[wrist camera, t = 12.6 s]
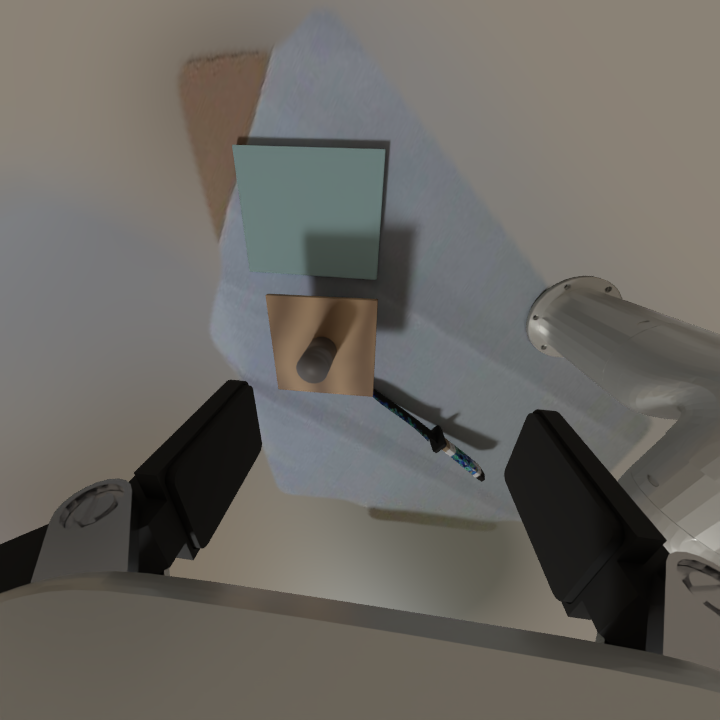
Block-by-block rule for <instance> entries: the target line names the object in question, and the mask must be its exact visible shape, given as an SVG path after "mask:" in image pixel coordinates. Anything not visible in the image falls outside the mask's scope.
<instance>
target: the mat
mask: <svg viewBox="0 0 720 720" xmlns="http://www.w3.org/2000/svg"><path fill="white" fill-rule="evenodd" d="M232 147H233V154H234V162H235V169H236V176H237V183H238V190H239V197H240V205H241V212H242V219H243V226H244V233H245V240H246V248H247V255H248V262H249V269H250V272H264V273H280V274H295V275H310V276H326V277H341V278H357V279H372V280H377V268H378V254H379V239H380V225H381V210H382V196H383V181H384V166H385V152H386V150H385V149H358V148H323V147H288V146H253V145H232Z"/></svg>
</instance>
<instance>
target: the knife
mask: <svg viewBox="0 0 720 720" xmlns="http://www.w3.org/2000/svg"><path fill="white" fill-rule="evenodd" d="M373 397H374V398H375V399H376V400H377V401H378V402H380V403H381V404H382V405H383V406H385V407H386V408H388V409H389V410H390V411H392V412H393V413H395V414H396V415H397V416H399V417H400V418H402V419H403V420H404V421H406V422H407V423H408V424H410V425H411V426H412V427H414V428H415V429H416V430H417V431H418V432H419V433H420V434H421V435H422V436H423V437H424V438H425V439H426V440H427V441H428V440H430V443H431V447H432V450H433V452H435V453H437V452H439V451H440V450H441V449H442V450H443V451H444V452H446V453H447V454H448V455H449V456H450V457H451V458H453V459H454V460H455V461H456V462H457V463H459V464H460V465H461V466H462V467H464V468H465V469H466V470H467V471H468V472H470V473H471V474H472V475H473V476H474V477H476V478H477V479H478V480H480V481H484V480H485V474H484V472H483V471H482V469H481V467H480V466H479V465H478V464H477V463H476V462H475V461H474V460H472V459H471V458H470V457H469V456H467V455H466V454H465V453H464V452H462V451H461V450H460V449H458V448H457V447H456V446H455V445H453V444H452V443H451V442H450V441H448V440H447V439H446V438H445V437H444V435H443V432H442V430H441V427H440V426H436V427H435V428H434V429H433V430H430V429H428V428H427V427H426V426H425V425H423V424H422V423H421V422H420V421H418V420H417V419H416V418H414V417H413V416H411V415H410V414H409V413H407V412H406V411H405V410H403V409H402V408H401V407H399V406H398V405H397V404H395V403H394V402H392V401H391V400H389V399H388V398H387V397H385V396H384V395H382V394H381V393H379V392H378V391H376V390H375V389H373Z"/></svg>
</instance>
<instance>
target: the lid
mask: <svg viewBox="0 0 720 720" xmlns="http://www.w3.org/2000/svg"><path fill="white" fill-rule="evenodd" d="M266 302H267V309H268V316H269V324H270V331H271V338H272V345H273V352H274V360H275V367H276V374H277V381H278V389H283V390H295V391H308V392H320V393H333V394H345V395H357V396H370V397H373V385H374V365H375V346H376V326H377V307H378V299H364V298H344V297H323V296H303V295H283V294H267V295H266Z"/></svg>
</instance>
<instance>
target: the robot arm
mask: <svg viewBox="0 0 720 720" xmlns="http://www.w3.org/2000/svg"><path fill="white" fill-rule="evenodd" d="M565 285H566V286H565ZM564 286H565V287H564ZM534 315H535V316H534ZM533 316H534V317H533ZM526 332H527V336H528V338H529V340H530V342H531V343H532V344H533V345H534V347H535V348H537V349H538V350H539V351H540V352H542V353H544V354H546V355H549V356H553V357H564V358H566V359H567V360H568V361H569V362H570V363H572V364H573V365H574V366H575V367H576V368H578V369H579V370H580V371H581V372H583V373H584V374H585V375H586V376H587V377H589V378H590V379H591V380H592V381H593V382H595V383H596V384H597V385H598V386H599V387H601V388H602V389H603V390H604V391H606V392H607V393H608V394H609V395H611V396H612V397H613V398H614V399H616V400H617V401H618V402H619V403H621V404H622V405H624V406H625V407H627V408H629V409H631V410H633V411H635V412H638V413H641V414H644V415H647V416H652V417H658V418H664V419H673V420H678V421H677V422H676V423H675V424H674V425H673V426H672V427H671V428H670V429H669V430H668V431H667V432H666V434H665V435H664V436H663V437H662V438H661V439H660V440H659V441H658V442H657V443H656V444H655V445H654V446H652V448H650V449H649V450H648V451H647V452H646V453H645V454H644V455H643V456H642V457H641V458H640V459H639V460H638V461H636V462H635V463H634V464H633V465H632V466H631V467H630V468H629V469H628V470H627V471H626V472H625V473H624V475H622V477H621V478H620V479H619V480H618V482H617V481H616V479H615V478H614V477H613V476H612V475H611V474H610V472H609V471H608V470H607V469H606V468H605V466H604V465H603V464H602V463H601V462H600V461H599V459H598V458H597V457H596V456H595V455H594V453H593V452H592V451H591V450H590V449H589V448H588V446H587V445H586V444H585V443H584V442H583V440H582V439H581V438H580V437H579V436H578V435H577V433H576V432H575V431H574V430H573V429H572V427H571V426H570V425H569V424H568V423H567V422H566V420H565V419H564V418H563V417H562V416H561V414H560V413H558V412H556V411H549V410H539V409H537V410H535V411H534V412H533V413H530V414H528V416H527V418H526V420H525V422H524V425H523V427H522V430H521V432H520V435H519V437H518V439H517V442H516V444H515V447H514V449H513V452H512V454H511V457H510V459H509V461H508V464H507V466H506V469H505V473H504V477H505V481H506V484H507V486H508V489H509V491H510V493H511V496H512V498H513V501H514V503H515V505H516V508H517V510H518V512H519V515H520V517H521V519H522V522H523V524H524V526H525V529H526V531H527V533H528V536H529V538H530V541H531V543H532V545H533V548H534V550H535V553H536V555H537V557H538V560H539V562H540V564H541V567H542V569H543V571H544V574H545V576H546V578H547V581H548V583H549V586H550V588H551V590H552V592H553V594H554V596H555V597H556V599H558V600H559V601H561V602H562V604H563V606H564V608H565V611H566V613H567V615H568V617H575V618H581V619H588V620H591V619H592V621H593V623H594V625H595V627H596V629H597V637H596V642H591V641H586V640H581V639H575V638H569V637H564V636H558V635H551V634H545V633H539V632H533V631H526V630H521V629H514V628H508V627H502V626H495V625H489V624H483V623H477V622H471V621H465V620H458V619H452V618H446V617H440V616H433V615H426V614H420V613H414V612H408V611H401V610H394V609H388V608H382V607H376V606H369V605H363V604H356V603H350V602H343V601H337V600H330V599H324V598H317V597H311V596H304V595H297V594H291V593H284V592H278V591H271V590H264V589H258V588H251V587H244V586H237V585H231V584H224V583H217V582H211V581H202V580H195V579H187V578H179V577H172V576H170V572H169V568H170V566H171V565H172V563H173V562H174V560H175V558H182V559H190V560H194V558H195V557H196V555H197V553H198V551H199V550H200V548H204V547H206V546H207V544H208V543H209V541H210V539H211V538H212V536H213V534H214V532H215V531H216V529H217V527H218V525H219V524H220V522H221V520H222V518H223V517H224V515H225V513H226V511H227V510H228V508H229V506H230V504H231V502H232V501H233V499H234V497H235V495H236V494H237V492H238V490H239V488H240V486H241V485H242V483H243V481H244V479H245V478H246V476H247V474H248V472H249V471H250V469H251V467H252V465H253V464H254V462H255V460H256V458H257V457H258V455H259V453H260V451H261V447H262V441H261V435H260V429H259V423H258V417H257V410H256V404H255V398H254V392H253V388H252V386H249V385H248V383H247V382H246V381H239V380H228V381H227V382H226V383H225V384H224V385H223V386H222V387H221V388H220V389H219V390H217V391H216V393H214V394H213V395H212V396H211V397H210V398H209V399H208V400H207V401H206V402H205V403H204V404H203V405H202V406H201V407H200V408H199V409H198V410H197V411H196V412H195V413H194V414H193V415H192V416H191V417H190V418H189V419H188V420H187V421H186V422H185V423H184V424H183V425H182V426H181V427H180V428H179V429H178V430H177V431H176V432H175V433H174V434H173V435H172V436H171V437H170V438H169V439H168V440H167V441H166V442H165V443H164V444H163V445H162V446H161V447H159V448H158V449H157V451H155V452H154V453H153V454H152V455H151V456H150V457H149V458H148V459H147V460H146V461H145V462H144V463H143V464H142V465H141V466H140V467H139V468H138V469H137V470H136V471H135V472H134V474H135V476H134V477H133V478H132V479H131V480H130V481H129V482H127V481H126V480H123V479H107V480H104V481H100V482H96V483H94V484H92V485H90V486H87V487H85V488H84V489H82V490H80V491H78V492H76V493H75V494H73V495H72V496H71V497H69V498H68V499H67V500H66V501H64V502H63V503H62V504H61V505H60V506H59V508H58V509H57V510H56V511H55V512H54V514H53V516H52V518H51V520H50V522H49V524H48V525H45V526H43V527H40V528H38V529H35V530H33V531H31V532H29V533H26V534H24V535H21V536H19V537H17V538H14V539H12V540H9V541H7V542H5V543H3V544H0V720H720V334H717V333H714V332H712V331H709V330H706V329H703V328H700V327H698V326H695V325H692V324H689V323H686V322H684V321H681V320H678V319H675V318H672V317H670V316H667V315H664V314H661V313H659V312H656V311H653V310H650V309H647V308H645V307H642V306H639V305H636V304H633V303H631V302H628V301H625V300H622V297H621V295H620V292H619V291H618V290H617V288H616V287H615V286H614V285H613V284H611V283H610V282H608V281H606V280H603V279H601V278H597V277H593V276H579V277H573V278H569V279H566V280H563V281H561V282H559V283H557V284H555V285H553V286H552V287H550V288H549V289H547V290H546V291H545V292H544V293H543V294H542V295H541V296H540V297H539V298H538V299H537V300H536V301H535V303H534V304H533V306H532V308H531V309H530V312H529V314H528V317H527V322H526Z"/></svg>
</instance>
